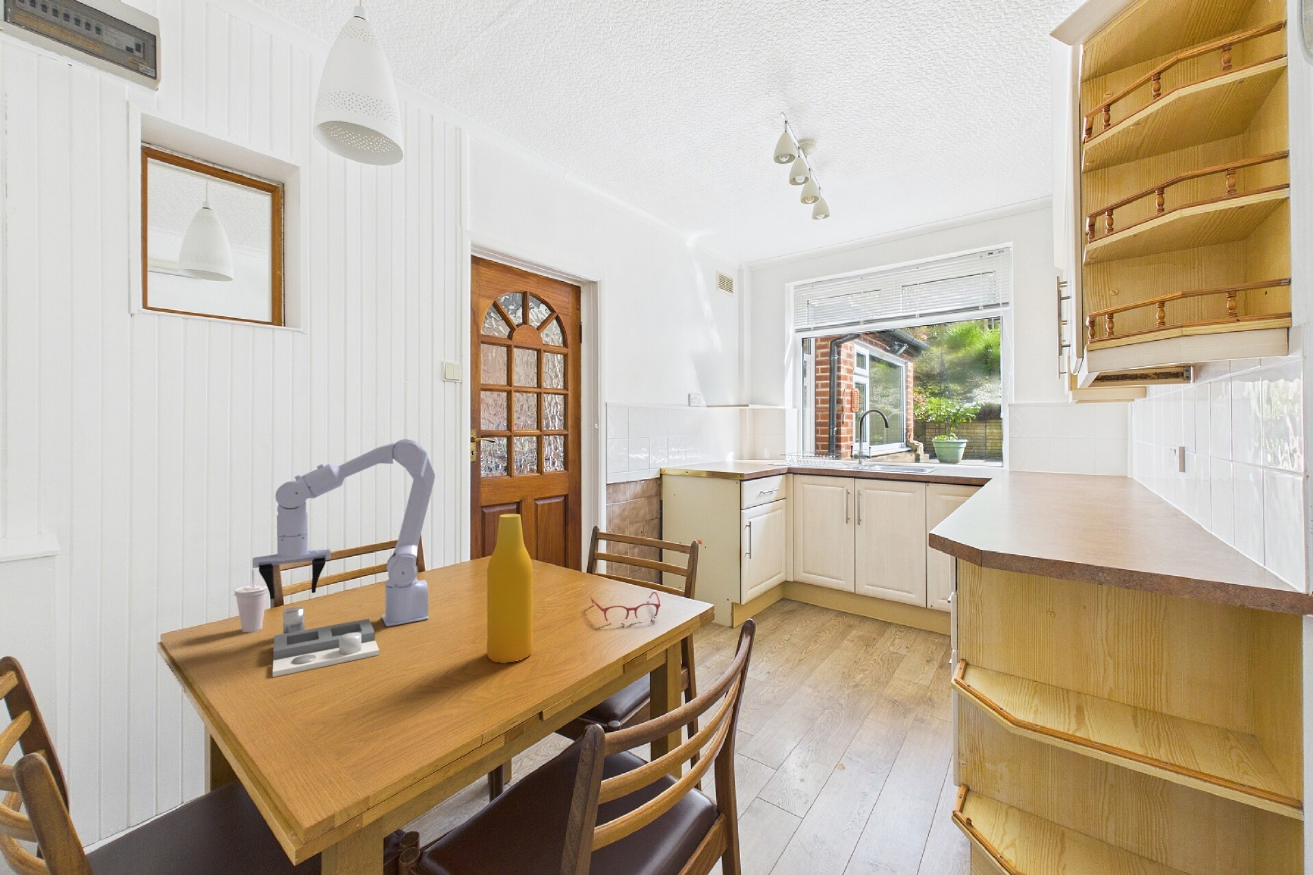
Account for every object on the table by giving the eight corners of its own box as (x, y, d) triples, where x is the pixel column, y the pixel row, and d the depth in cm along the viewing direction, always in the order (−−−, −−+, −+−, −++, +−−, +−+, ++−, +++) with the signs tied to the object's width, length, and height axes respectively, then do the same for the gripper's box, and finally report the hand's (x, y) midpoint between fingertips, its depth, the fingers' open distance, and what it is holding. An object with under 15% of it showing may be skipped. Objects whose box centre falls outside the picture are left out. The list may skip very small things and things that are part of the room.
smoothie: (250, 635, 122) (249, 574, 122) (227, 633, 123) (226, 572, 123) (275, 625, 128) (275, 566, 128) (253, 623, 129) (252, 565, 129)
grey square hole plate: (369, 629, 126) (369, 618, 126) (374, 643, 118) (374, 632, 118) (274, 646, 116) (274, 635, 116) (273, 663, 108) (273, 651, 108)
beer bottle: (477, 659, 110) (476, 517, 109) (505, 643, 118) (505, 510, 118) (515, 667, 106) (515, 520, 106) (541, 649, 115) (541, 513, 114)
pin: (304, 631, 125) (304, 605, 125) (304, 636, 121) (304, 610, 121) (283, 635, 122) (283, 608, 122) (283, 640, 119) (282, 613, 119)
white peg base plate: (375, 645, 117) (375, 626, 117) (379, 654, 112) (379, 635, 112) (273, 665, 107) (273, 645, 107) (272, 677, 102) (272, 655, 102)
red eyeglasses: (596, 628, 128) (596, 607, 128) (588, 607, 143) (588, 588, 143) (667, 622, 132) (667, 602, 132) (652, 602, 148) (652, 583, 147)
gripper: (329, 528, 129) (329, 585, 129) (253, 535, 121) (254, 595, 121) (331, 533, 123) (331, 592, 123) (251, 540, 115) (252, 604, 115)
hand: (293, 594), depth 122 cm, fingers open, 7 cm apart
